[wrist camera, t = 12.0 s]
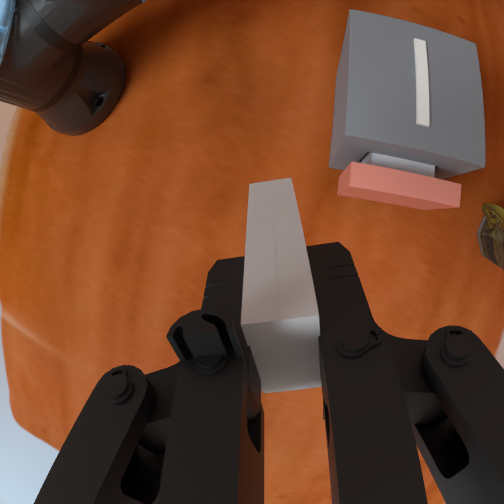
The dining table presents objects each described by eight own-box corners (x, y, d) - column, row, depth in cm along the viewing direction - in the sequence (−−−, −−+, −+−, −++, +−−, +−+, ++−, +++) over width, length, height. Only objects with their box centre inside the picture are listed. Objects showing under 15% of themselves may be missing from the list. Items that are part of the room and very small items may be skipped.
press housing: (423, 184, 35) (486, 166, 20) (328, 167, 36) (345, 134, 21) (425, 95, 33) (477, 42, 18) (336, 77, 35) (350, 7, 20)
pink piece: (423, 209, 32) (459, 207, 23) (337, 194, 33) (349, 186, 24) (428, 93, 30) (458, 62, 21) (346, 76, 31) (357, 36, 23)
